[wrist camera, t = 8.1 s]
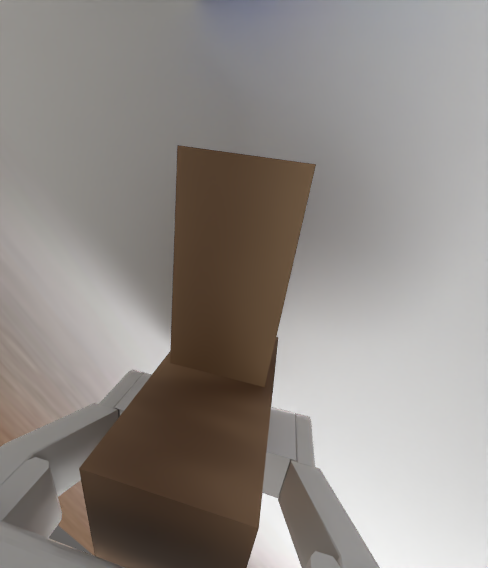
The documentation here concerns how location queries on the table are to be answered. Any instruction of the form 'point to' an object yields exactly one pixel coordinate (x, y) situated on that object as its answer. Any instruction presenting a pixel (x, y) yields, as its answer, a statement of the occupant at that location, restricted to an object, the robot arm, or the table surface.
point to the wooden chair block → (205, 375)
